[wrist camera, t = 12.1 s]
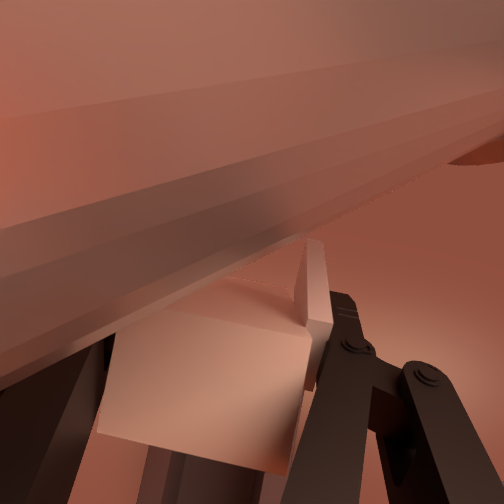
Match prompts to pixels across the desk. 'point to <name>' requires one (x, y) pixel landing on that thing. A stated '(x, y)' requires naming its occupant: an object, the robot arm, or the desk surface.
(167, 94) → the robot arm
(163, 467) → the tall stand
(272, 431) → the pale pink long block
